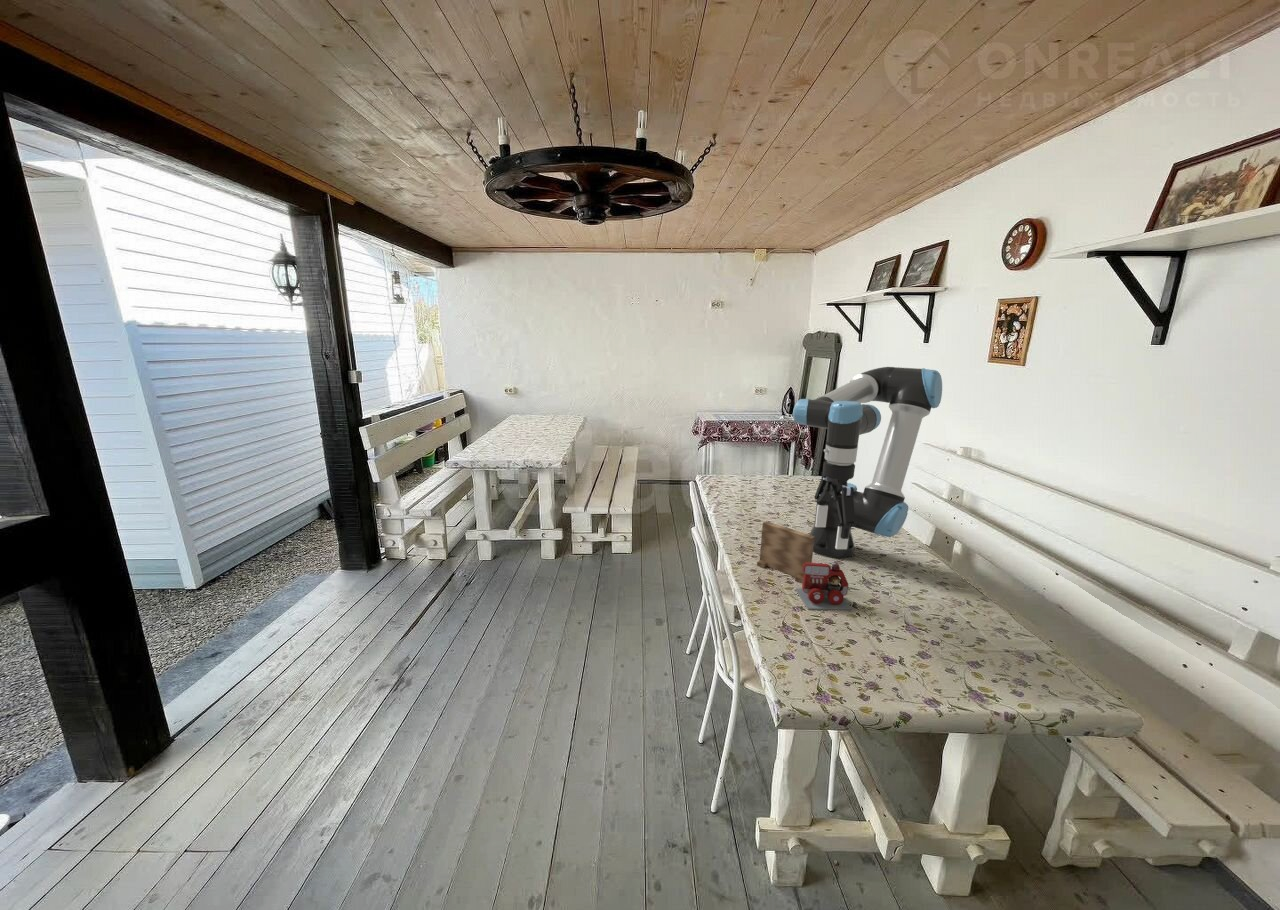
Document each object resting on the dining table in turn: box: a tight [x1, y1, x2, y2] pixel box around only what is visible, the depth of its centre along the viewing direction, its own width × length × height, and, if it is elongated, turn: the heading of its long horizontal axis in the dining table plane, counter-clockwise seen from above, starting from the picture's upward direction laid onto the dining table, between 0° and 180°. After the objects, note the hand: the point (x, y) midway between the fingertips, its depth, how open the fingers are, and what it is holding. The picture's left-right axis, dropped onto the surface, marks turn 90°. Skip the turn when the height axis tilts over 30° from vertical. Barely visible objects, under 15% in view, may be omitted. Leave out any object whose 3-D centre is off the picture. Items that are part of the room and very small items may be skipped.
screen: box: [756, 520, 815, 584], centre depth 144 cm, size 16×6×14 cm, turn 46°
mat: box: [794, 587, 853, 611], centre depth 130 cm, size 12×10×1 cm
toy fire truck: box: [801, 562, 849, 605], centre depth 129 cm, size 7×12×10 cm, turn 83°
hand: (830, 537), depth 125 cm, fingers open, 13 cm apart
